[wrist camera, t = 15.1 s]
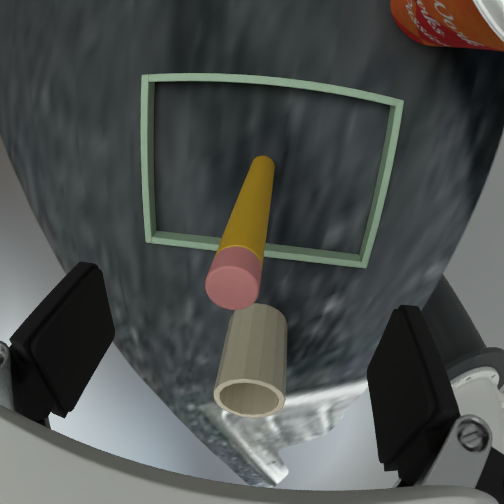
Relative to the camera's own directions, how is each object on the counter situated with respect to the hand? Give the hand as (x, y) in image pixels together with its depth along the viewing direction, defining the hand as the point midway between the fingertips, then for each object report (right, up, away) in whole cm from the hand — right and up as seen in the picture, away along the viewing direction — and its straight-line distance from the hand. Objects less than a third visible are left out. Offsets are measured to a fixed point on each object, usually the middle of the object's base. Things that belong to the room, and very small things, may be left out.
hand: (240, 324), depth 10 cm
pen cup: (+1, -5, +23) cm, 24 cm away
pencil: (+1, +9, +15) cm, 17 cm away
